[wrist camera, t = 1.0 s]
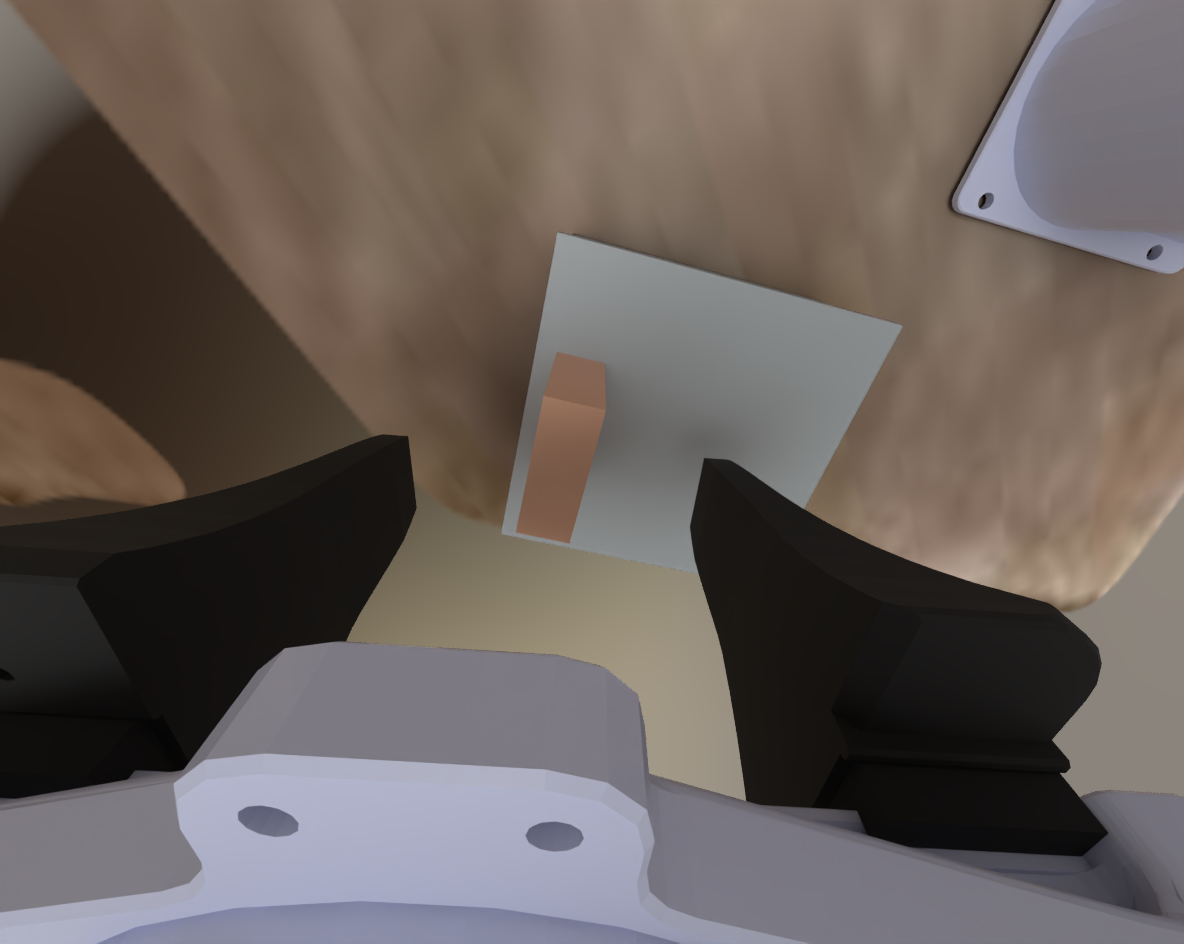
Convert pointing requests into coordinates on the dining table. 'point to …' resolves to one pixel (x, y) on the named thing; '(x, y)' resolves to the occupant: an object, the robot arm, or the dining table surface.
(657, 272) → the lid
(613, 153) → the dining table surface
